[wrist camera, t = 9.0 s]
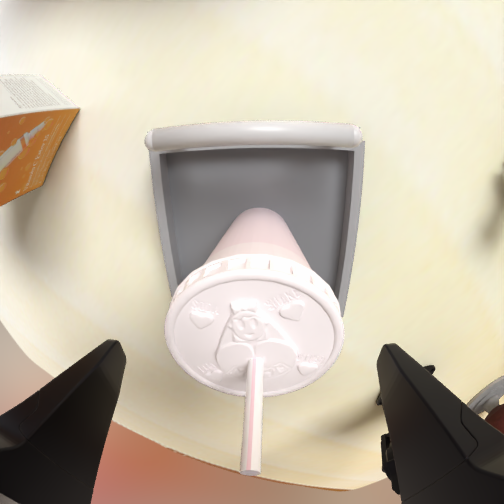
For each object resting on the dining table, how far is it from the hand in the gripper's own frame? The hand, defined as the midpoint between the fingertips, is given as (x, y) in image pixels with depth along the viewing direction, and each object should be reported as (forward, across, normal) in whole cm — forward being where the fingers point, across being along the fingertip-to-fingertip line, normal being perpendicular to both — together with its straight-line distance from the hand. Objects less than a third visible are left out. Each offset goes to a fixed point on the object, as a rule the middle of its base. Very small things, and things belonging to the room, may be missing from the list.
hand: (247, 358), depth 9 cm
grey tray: (+13, 0, 0) cm, 13 cm away
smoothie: (+10, 0, 0) cm, 11 cm away
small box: (+13, +18, -9) cm, 24 cm away
